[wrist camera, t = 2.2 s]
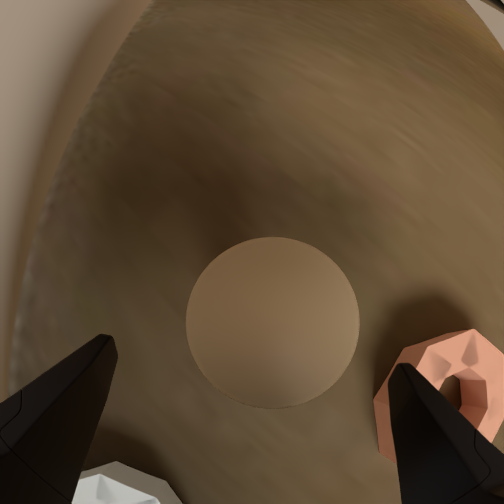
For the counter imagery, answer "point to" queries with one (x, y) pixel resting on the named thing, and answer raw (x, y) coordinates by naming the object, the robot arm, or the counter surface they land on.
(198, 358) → the dowel
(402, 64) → the counter surface
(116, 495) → the bead
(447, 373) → the bead ring
